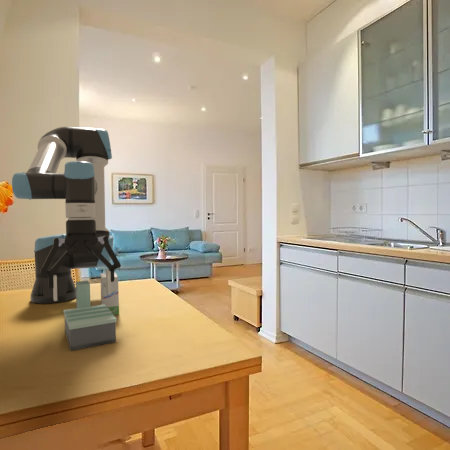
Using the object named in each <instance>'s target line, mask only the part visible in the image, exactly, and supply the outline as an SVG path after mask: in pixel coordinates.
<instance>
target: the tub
mask: <svg viewBox="0 0 450 450" xmlns="http://www.w3.org/2000/svg"><path fill="white" fill-rule="evenodd" d="M116 324H117V322H114V323H108V324H102V325H96V326H89V327H83V328H77V329H71V330H69V327H68V324H67V322H66V319H65V318H64V333H65V337H66V340H67V344H68V346H69V350H70V351H77V350H82V349H86V348H92V347H97V346H102V345H108V344H112V343H113V344H114V343H116V342H117V329H116V326H117V325H116Z"/></svg>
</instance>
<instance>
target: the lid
mask: <svg viewBox="0 0 450 450" xmlns="http://www.w3.org/2000/svg"><path fill="white" fill-rule="evenodd" d="M75 287H76V298H75V299H76V300H75V303H76V305H75V306H76V308H75V307H74V308H68V309H63V311H62V313H63V315H64V320H65V319H66V322H67V324H68V327H69V330H71V329H77V328H83V327H89V326H96V325H102V324H108V323H114V322H116V323H117V321H118V319H117V317H116V315H113V313H112V312H111V311H110V309H108V308H107V306H106V305H105V304H103V305H101V304H97V305H91V283H90V282H89V281H88V280H81V281H75Z"/></svg>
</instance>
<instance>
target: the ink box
mask: <svg viewBox="0 0 450 450" xmlns="http://www.w3.org/2000/svg"><path fill="white" fill-rule="evenodd" d="M119 296H120V295H119V277H118V274H117V273H116V272H114V282H111V294H109V295H108V294H107V293H106V272H100V305H103V304H105V305H106V306H107V308H108V309H110V311H111V312H112V313H113V315H114V316H116V315H120V302H119V301H120V299H119Z"/></svg>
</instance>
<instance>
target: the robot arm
mask: <svg viewBox="0 0 450 450" xmlns="http://www.w3.org/2000/svg"><path fill="white" fill-rule="evenodd" d="M109 136H110V135H109V132H108V130H107V129H105V128H97V127H81V126H79V127H77V126H61V127H57V128H53V129H52V130H50V131H48V132H46V133H45V134H44V135H42V136H41V137H40V139H39V141H38V142H37V152H36V154H35V156H34V158H33V159H32V161H31V163H30V166H29V167H28V170H27V172H24V171H23V172H16V173H14V174H13V175H12V178H11V187H12V188H11V189H12V193H13V195H14V197H15V198H17V199H20V200H22V199H23V200H29V201H30V200H65V202H64V205H65V206H64V207H65V219H67V220H66V221H65V233H59V234H52V235H47V236H41V237H38V238H36V240H35V241H34V251H33V252H34V267H35V268H34V270H35V280H34V283H33V286H32V290H31V292H30V302H31V303H33V304H44V305H45V304H56V303H57V304H58V303H61V302H66V301H67V302H68V301H70V300H73V299H76V283H75V281H74V280H73V279H74V278H73V277H72V269H88V268H89V269H91V268H93V269H95V268H96V269H97V268H98V269H99V268H105V267H106V268H107V269H106V270H105V273H106V293H107V294H108V295H109V294H111V282H114V273H115V270H116V269H119V268H121V266H122V264H121V263H120V261H119V259H118V258H117V255H116V254H115V252H114V250H113V249H114V236H113V235H111V234H110V230H109V229H108V228H107V227H106V198H105V197H106V193H105V192H106V191H105V190H106V189H105V188H106V186H105V167H106V166H107V165H109V160H111V159H113V156H112V149H111V147H112V146H111V141H110V137H109ZM64 158H67V159H68V158H69V159H76V161H75V160H73V161H72V160H71V161H67V162H65V164H64V172H63V173H62V172H61V173H57V172H58V169H59V165H60V164H61V160H63V159H64ZM111 262H112V263H111Z"/></svg>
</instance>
